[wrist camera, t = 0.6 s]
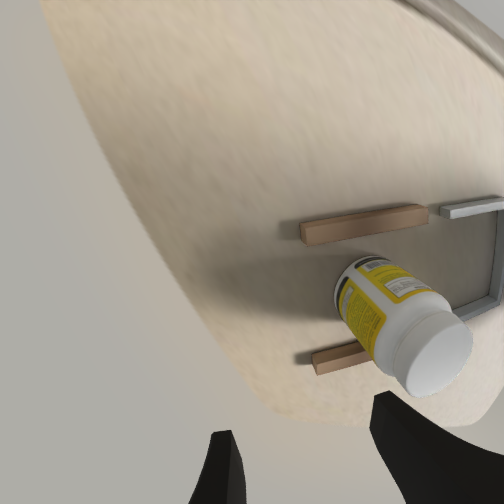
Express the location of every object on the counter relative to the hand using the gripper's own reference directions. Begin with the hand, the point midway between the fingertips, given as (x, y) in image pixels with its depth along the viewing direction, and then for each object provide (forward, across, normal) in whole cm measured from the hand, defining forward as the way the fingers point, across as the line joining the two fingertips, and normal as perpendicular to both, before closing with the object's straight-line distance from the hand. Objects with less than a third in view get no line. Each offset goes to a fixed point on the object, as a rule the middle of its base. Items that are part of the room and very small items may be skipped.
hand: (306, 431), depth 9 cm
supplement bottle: (+10, -6, 0) cm, 12 cm away
